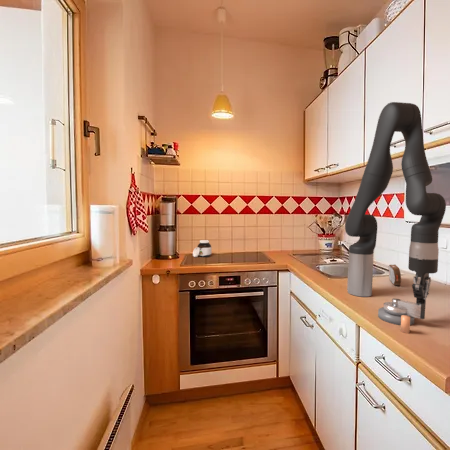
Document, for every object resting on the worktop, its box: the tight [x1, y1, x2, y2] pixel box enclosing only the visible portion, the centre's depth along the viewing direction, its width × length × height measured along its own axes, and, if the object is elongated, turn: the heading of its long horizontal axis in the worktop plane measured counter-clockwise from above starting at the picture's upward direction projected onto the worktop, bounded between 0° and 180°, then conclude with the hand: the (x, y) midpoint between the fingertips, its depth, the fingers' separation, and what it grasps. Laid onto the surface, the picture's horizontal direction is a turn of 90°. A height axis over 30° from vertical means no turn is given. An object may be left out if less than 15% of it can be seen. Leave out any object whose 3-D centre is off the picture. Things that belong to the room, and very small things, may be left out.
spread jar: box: [192, 239, 213, 258], centre depth 199 cm, size 12×11×12 cm
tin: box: [388, 264, 402, 287], centre depth 131 cm, size 15×3×8 cm, turn 158°
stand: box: [377, 306, 415, 334], centre depth 87 cm, size 15×10×4 cm, turn 2°
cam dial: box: [383, 297, 426, 320], centre depth 88 cm, size 11×7×4 cm, turn 42°
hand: (420, 309), depth 88 cm, fingers closed
